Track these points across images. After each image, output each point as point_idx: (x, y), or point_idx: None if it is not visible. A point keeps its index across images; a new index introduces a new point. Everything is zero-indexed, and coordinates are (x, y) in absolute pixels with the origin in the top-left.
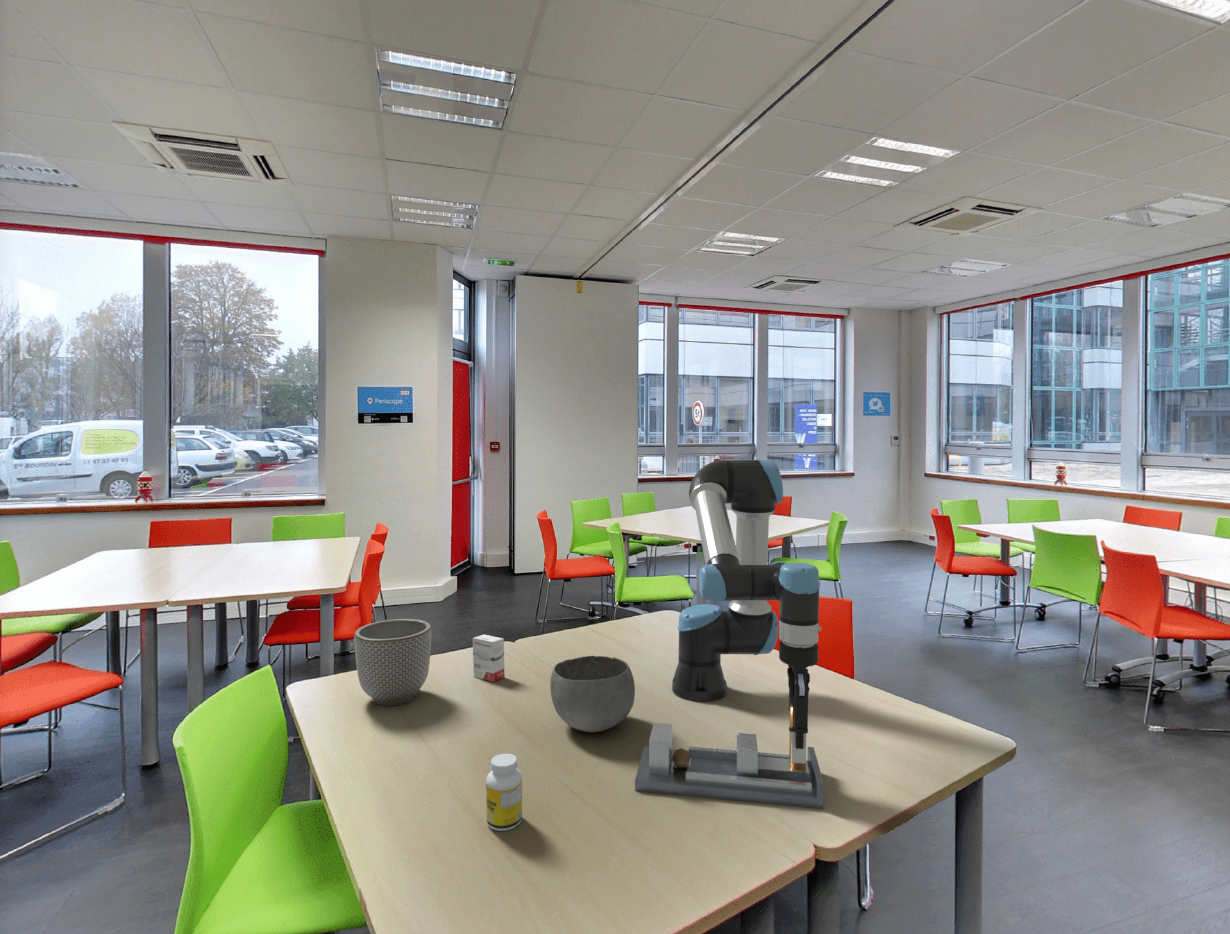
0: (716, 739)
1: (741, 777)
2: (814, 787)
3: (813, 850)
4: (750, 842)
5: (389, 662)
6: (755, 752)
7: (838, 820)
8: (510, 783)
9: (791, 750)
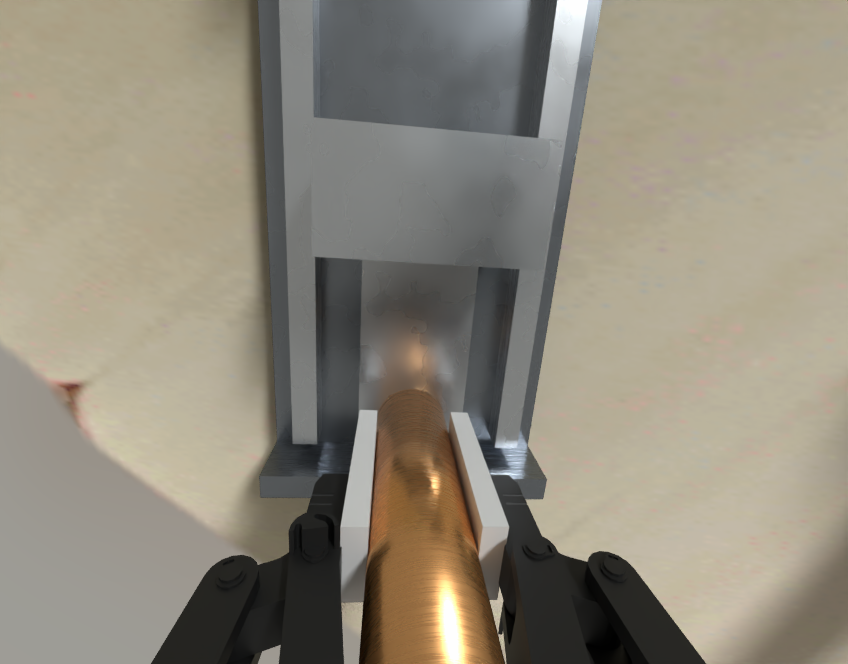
0: (769, 98)
1: (305, 163)
2: (337, 443)
3: (46, 378)
4: (6, 174)
5: None
6: (313, 242)
7: (234, 469)
8: None
9: (372, 437)
